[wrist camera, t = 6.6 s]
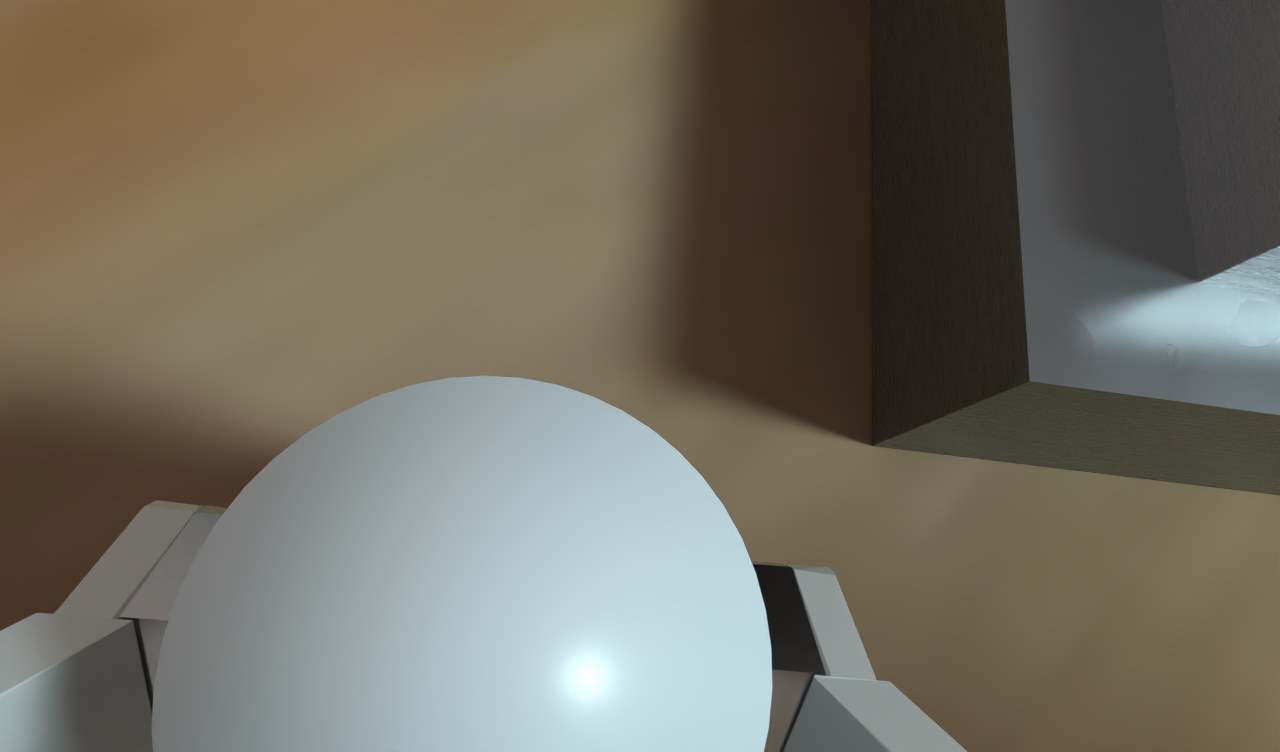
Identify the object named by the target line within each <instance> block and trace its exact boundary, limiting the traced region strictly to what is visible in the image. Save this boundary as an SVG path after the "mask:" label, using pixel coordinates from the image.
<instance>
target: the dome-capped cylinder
mask: <svg viewBox="0 0 1280 752" xmlns="http://www.w3.org/2000/svg"><path fill="white" fill-rule="evenodd" d="M771 698H772V654H771V642H770V636H769V629H768V622H767V615H766V609H765V605H764V601H763V598H762V594H761V590H760V587H759V583H758V579H757V575H756V572H755V570H754V567H753V565H752V562H751V560H750V557H749V555H748V552H747V550H746V547H745V545H744V543H743V540H742V538H741V536H740V534H739V532H738V531H737V529H736V527H735V525H734V523H733V522H732V520H731V518H730V516H729V514H728V513H727V511H726V509H725V507H724V506H723V504H722V503H721V502H720V500H719V499H718V497H717V496H716V495H715V493H714V492H713V491H712V489H711V488H710V486H709V485H708V484H707V482H706V481H705V480H704V478H703V477H702V476H701V475H700V474H699V473H698V472H697V471H696V470H695V468H694V467H693V466H692V465H691V464H690V463H689V462H688V461H687V460H686V459H685V458H684V457H683V456H682V455H681V454H680V452H679V451H677V450H676V449H675V448H674V447H673V446H671V445H670V444H669V443H668V442H666V441H665V440H664V439H663V438H662V437H660V436H659V435H658V434H657V433H656V432H654V431H653V430H652V429H651V428H649V427H647V426H646V425H644V424H643V423H641V422H639V421H638V420H636V419H635V418H633V417H632V416H630V415H628V414H627V413H625V412H624V411H622V410H620V409H618V408H616V407H614V406H612V405H609V404H607V403H605V402H603V401H601V400H599V399H597V398H594V397H592V396H590V395H587V394H584V393H581V392H578V391H575V390H572V389H569V388H566V387H562V386H559V385H556V384H551V383H545V382H540V381H535V380H529V379H524V378H513V377H497V376H474V377H458V378H447V379H441V380H436V381H431V382H425V383H420V384H414V385H410V386H407V387H404V388H401V389H398V390H395V391H391V392H388V393H385V394H382V395H379V396H376V397H373V398H371V399H369V400H367V401H365V402H362V403H360V404H358V405H356V406H353V407H351V408H349V409H347V410H345V411H342V412H340V413H339V414H337V415H335V416H334V417H332V418H330V419H329V420H327V421H325V422H324V423H322V424H320V425H319V426H317V427H315V428H314V429H312V430H310V431H309V432H307V433H306V434H304V435H303V436H302V437H300V438H299V439H298V440H297V441H295V442H294V443H293V444H291V445H290V446H289V447H288V448H286V449H285V450H284V451H282V452H281V453H280V454H279V455H277V456H276V457H275V458H274V459H273V460H272V461H271V462H269V463H268V464H267V465H266V466H265V467H264V468H263V469H262V470H261V471H260V472H259V473H258V474H257V475H256V476H255V477H254V478H253V479H252V480H251V481H250V482H249V483H248V484H247V485H246V486H245V487H244V488H243V490H242V491H241V492H240V493H239V495H238V496H237V497H236V498H235V500H234V501H233V502H232V503H231V505H230V506H229V507H228V508H227V510H226V511H225V512H224V513H223V515H222V516H221V517H220V518H219V520H218V521H217V522H216V524H215V526H214V527H213V529H212V531H211V532H210V534H209V535H208V537H207V539H206V540H205V542H204V543H203V545H202V547H201V548H200V550H199V552H198V553H197V555H196V556H195V558H194V560H193V562H192V564H191V567H190V569H189V571H188V573H187V575H186V577H185V580H184V582H183V584H182V586H181V588H180V590H179V592H178V595H177V597H176V599H175V602H174V606H173V609H172V612H171V615H170V618H169V621H168V624H167V627H166V630H165V634H164V637H163V640H162V644H161V650H160V655H159V660H158V666H157V671H156V677H155V682H154V692H153V711H152V729H151V732H152V745H153V752H764V748H765V744H766V739H767V734H768V729H769V719H770V709H771Z"/></svg>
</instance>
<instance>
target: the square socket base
mask: <svg viewBox="0 0 1280 752" xmlns="http://www.w3.org/2000/svg"><path fill="white" fill-rule="evenodd" d="M872 197H873V446H880V447H889V448H897V449H905V450H913V451H922V452H930V453H938V454H946V455H955V456H963V457H971V458H979V459H988V460H996V461H1004V462H1012V463H1021V464H1029V465H1037V466H1045V467H1054V468H1062V469H1070V470H1078V471H1087V472H1095V473H1103V474H1111V475H1120V476H1128V477H1136V478H1144V479H1153V480H1161V481H1169V482H1177V483H1186V484H1194V485H1202V486H1211V487H1219V488H1227V489H1235V490H1244V491H1252V492H1260V493H1268V494H1277V495H1280V0H872Z"/></svg>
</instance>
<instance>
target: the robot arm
mask: <svg viewBox="0 0 1280 752" xmlns="http://www.w3.org/2000/svg"><path fill="white" fill-rule="evenodd" d="M226 510H227V508H224V507H216V506H208V505H207V506H200V505H192V504H184V503H176V502H167V501H159V500H156V501H154V502H152V503H150V504H148V505H146V506H144V507H143V508H142V509H141V510H140V511H139V512H138V513H137V515H136V516H135V517H134V518H133V519H132V521H131V522H130V523H129V524H128V525H127V527H126V528H125V529H124V530H123V531H122V533H121V534H120V535H119V536H118V537H117V539H116V540H115V541H114V542H113V543H112V545H111V546H110V547H109V548H108V549H107V550H106V552H105V553H104V554H103V555H102V556H101V558H100V559H99V560H98V561H97V562H96V564H95V565H94V566H93V567H92V568H91V570H90V571H89V572H88V573H87V574H86V576H85V577H84V578H83V579H82V580H81V582H80V583H79V584H78V585H77V586H76V588H75V589H74V590H73V591H72V592H71V594H70V595H69V596H68V597H67V598H66V599H65V601H64V602H63V603H62V604H61V605H60V607H59V608H58V609H57V610H56V611H55V613H54V614H49V613H35V614H33V615H31V616H29V617H27V618H25V619H23V620H21V621H19V622H17V623H15V624H13V625H11V626H9V627H7V628H5V629H3V630H1V631H0V752H153V745H152V732H151V729H152V711H153V692H154V682H155V677H156V671H157V666H158V660H159V655H160V650H161V644H162V640H163V637H164V634H165V630H166V627H167V624H168V621H169V618H170V615H171V612H172V609H173V606H174V602H175V599H176V597H177V595H178V592H179V590H180V588H181V586H182V584H183V582H184V580H185V577H186V575H187V573H188V571H189V569H190V567H191V564H192V562H193V560H194V558H195V556H196V555H197V553H198V552H199V550H200V548H201V547H202V545H203V543H204V542H205V540H206V539H207V537H208V535H209V534H210V532H211V531H212V529H213V527H214V526H215V524H216V522H217V521H218V520H219V518H220V517H221V516H222V515H223V513H224V512H225V511H226ZM751 562H752V565H753V567H754V570H755V572H756V575H757V579H758V583H759V587H760V590H761V594H762V598H763V601H764V605H765V609H766V615H767V622H768V629H769V636H770V642H771V654H772V698H771V709H770V719H769V729H768V734H767V739H766V744H765V748H764V752H967V751H966V750H965V749H964V748H963V747H962V746H961V745H960V744H958V743H957V742H956V741H955V740H954V739H953V738H952V737H951V736H950V735H948V734H947V733H946V732H945V731H944V730H943V729H942V728H941V727H940V726H938V725H937V724H936V723H935V722H934V721H933V720H932V719H931V718H930V717H929V716H927V715H926V714H925V713H924V712H923V711H922V710H921V709H920V708H919V707H917V706H916V705H915V704H914V703H913V702H912V701H911V700H910V699H909V698H907V697H906V696H905V695H904V694H903V693H902V692H901V691H900V690H899V689H897V688H896V687H895V686H894V685H893V684H892V683H891V682H890V681H880V680H877V679H876V677H875V674H874V672H873V669H872V667H871V664H870V662H869V659H868V656H867V654H866V651H865V649H864V646H863V644H862V641H861V639H860V636H859V634H858V631H857V629H856V626H855V624H854V621H853V619H852V616H851V613H850V611H849V608H848V606H847V603H846V601H845V598H844V596H843V593H842V591H841V588H840V586H839V583H838V581H837V578H836V576H835V573H834V572H833V571H832V570H831V569H830V568H829V567H824V566H811V565H799V564H786V565H784V564H778V563H767V562H756V561H751Z"/></svg>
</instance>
